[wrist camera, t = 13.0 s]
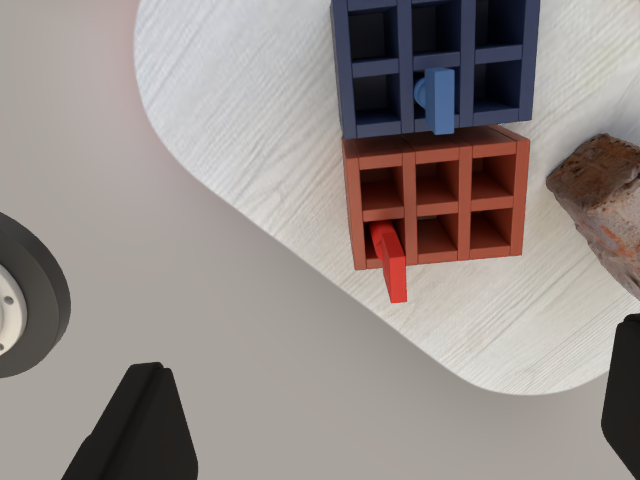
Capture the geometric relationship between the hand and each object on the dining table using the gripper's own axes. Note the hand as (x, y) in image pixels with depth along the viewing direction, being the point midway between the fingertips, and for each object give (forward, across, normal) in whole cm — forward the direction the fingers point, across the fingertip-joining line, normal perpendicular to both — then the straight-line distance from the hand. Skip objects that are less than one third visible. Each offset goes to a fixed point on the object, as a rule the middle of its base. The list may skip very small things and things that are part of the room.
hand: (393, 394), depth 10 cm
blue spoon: (+31, -7, -3) cm, 31 cm away
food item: (+31, -24, +9) cm, 41 cm away
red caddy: (+32, -7, +5) cm, 33 cm away
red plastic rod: (+31, -3, +7) cm, 32 cm away
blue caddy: (+32, -7, -5) cm, 33 cm away
